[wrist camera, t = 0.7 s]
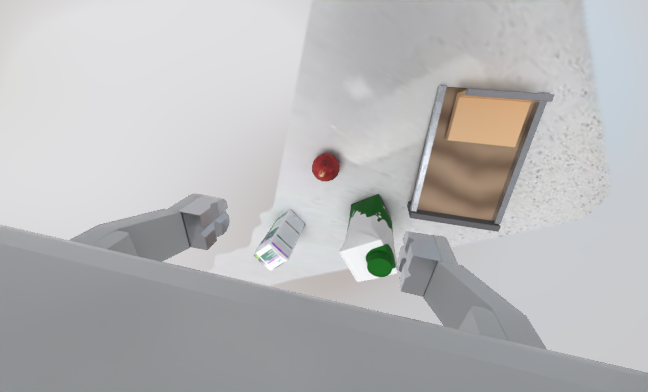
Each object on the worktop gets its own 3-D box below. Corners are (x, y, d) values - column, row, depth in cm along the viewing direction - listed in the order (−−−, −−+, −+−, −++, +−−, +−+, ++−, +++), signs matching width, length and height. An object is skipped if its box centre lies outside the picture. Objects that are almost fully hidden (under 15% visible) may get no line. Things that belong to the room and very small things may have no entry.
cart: (455, 87, 41) (468, 88, 35) (528, 92, 39) (555, 94, 33) (441, 137, 45) (450, 145, 39) (506, 143, 43) (526, 153, 37)
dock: (438, 85, 42) (446, 85, 37) (541, 92, 40) (567, 94, 34) (406, 204, 54) (410, 217, 49) (485, 216, 51) (498, 231, 46)
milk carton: (395, 219, 55) (404, 284, 38) (361, 231, 59) (354, 294, 41) (380, 189, 53) (382, 243, 35) (345, 203, 56) (331, 258, 39)
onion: (321, 145, 51) (312, 155, 44) (345, 155, 51) (340, 167, 44) (313, 168, 54) (303, 181, 47) (335, 178, 54) (329, 192, 47)
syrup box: (290, 208, 60) (267, 242, 47) (306, 224, 61) (287, 261, 49) (276, 219, 63) (251, 254, 50) (291, 234, 64) (270, 272, 51)
